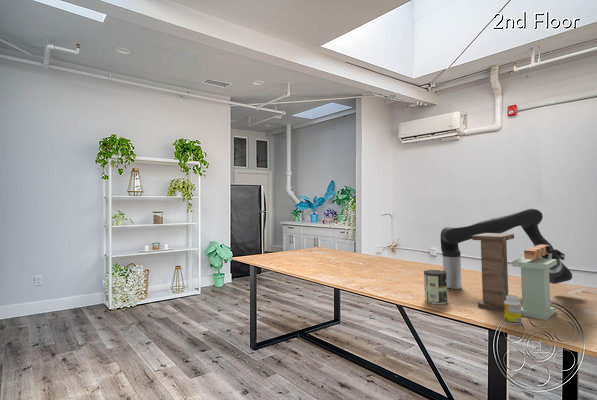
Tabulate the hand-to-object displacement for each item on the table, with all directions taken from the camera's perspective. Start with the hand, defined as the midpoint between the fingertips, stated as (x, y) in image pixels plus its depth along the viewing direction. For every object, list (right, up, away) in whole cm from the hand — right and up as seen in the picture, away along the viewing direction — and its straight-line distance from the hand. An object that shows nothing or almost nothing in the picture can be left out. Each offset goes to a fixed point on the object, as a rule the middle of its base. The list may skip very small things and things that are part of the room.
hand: (541, 247), depth 153 cm
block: (-5, -3, -4) cm, 7 cm away
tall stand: (-18, -27, +3) cm, 33 cm away
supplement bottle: (-24, -27, -19) cm, 40 cm away
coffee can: (-41, -28, +13) cm, 51 cm away
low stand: (-8, -26, -8) cm, 29 cm away
